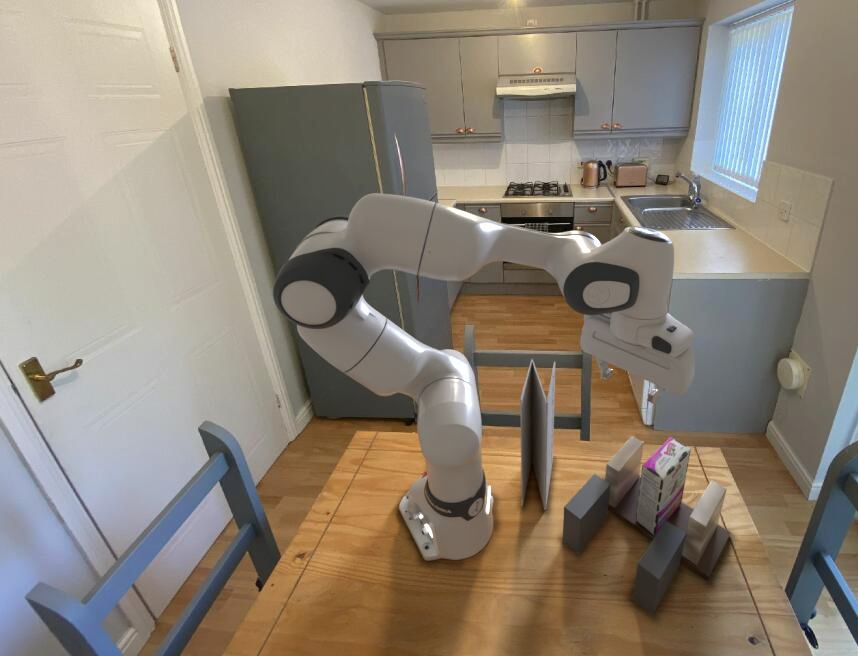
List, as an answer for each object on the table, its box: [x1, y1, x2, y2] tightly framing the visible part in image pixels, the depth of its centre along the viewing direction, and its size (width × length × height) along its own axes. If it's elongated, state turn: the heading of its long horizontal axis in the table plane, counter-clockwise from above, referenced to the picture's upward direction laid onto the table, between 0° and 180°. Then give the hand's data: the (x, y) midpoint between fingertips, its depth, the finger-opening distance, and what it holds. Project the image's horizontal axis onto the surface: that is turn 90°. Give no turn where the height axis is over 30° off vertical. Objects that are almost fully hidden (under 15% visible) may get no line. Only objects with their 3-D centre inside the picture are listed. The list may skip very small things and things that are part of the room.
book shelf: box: [604, 435, 732, 581], centre depth 89 cm, size 26×12×12 cm, turn 46°
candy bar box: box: [636, 436, 692, 535], centre depth 88 cm, size 11×5×16 cm, turn 131°
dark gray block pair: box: [562, 473, 686, 616], centre depth 82 cm, size 20×11×10 cm, turn 46°
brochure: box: [519, 358, 556, 511], centre depth 95 cm, size 14×6×30 cm, turn 168°
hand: (628, 389), depth 76 cm, fingers open, 8 cm apart
